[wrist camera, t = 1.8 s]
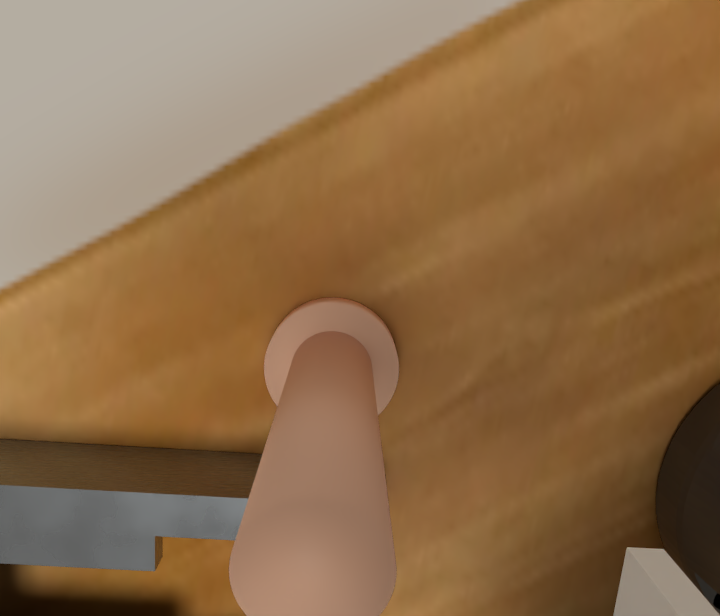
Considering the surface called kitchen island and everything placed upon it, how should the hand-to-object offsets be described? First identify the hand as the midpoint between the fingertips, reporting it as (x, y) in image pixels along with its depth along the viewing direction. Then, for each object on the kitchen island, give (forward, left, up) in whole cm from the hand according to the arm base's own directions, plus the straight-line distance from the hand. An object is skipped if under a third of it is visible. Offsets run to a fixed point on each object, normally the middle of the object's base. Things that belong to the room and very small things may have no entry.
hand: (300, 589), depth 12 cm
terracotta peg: (0, 0, -16) cm, 16 cm away
